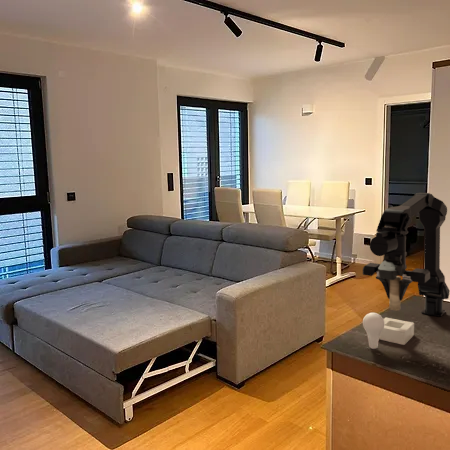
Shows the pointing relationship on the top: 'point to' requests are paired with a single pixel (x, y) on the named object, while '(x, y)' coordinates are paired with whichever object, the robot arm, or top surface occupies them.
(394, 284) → the dowel
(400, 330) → the socket
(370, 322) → the lightbulb
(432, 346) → the top surface
